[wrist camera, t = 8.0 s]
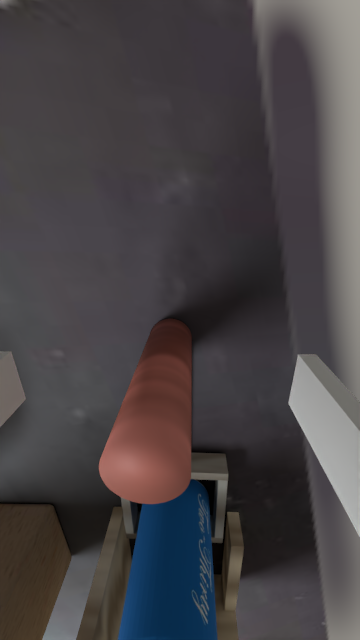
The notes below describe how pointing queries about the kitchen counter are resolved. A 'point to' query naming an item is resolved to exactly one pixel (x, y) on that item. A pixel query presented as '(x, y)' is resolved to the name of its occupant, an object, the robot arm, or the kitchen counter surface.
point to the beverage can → (172, 572)
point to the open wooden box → (113, 576)
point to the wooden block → (30, 568)
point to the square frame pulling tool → (160, 433)
